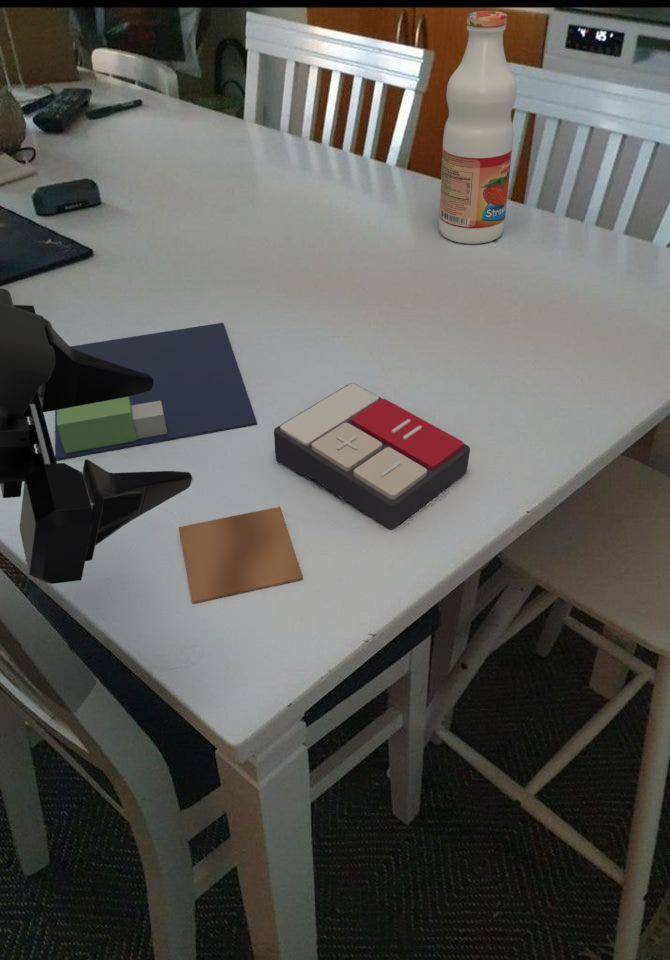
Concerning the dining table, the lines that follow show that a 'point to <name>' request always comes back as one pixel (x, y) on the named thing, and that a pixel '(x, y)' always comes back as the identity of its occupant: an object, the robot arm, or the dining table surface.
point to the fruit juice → (478, 136)
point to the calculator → (371, 453)
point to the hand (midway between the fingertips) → (170, 429)
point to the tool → (109, 423)
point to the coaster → (238, 554)
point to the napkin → (179, 382)
